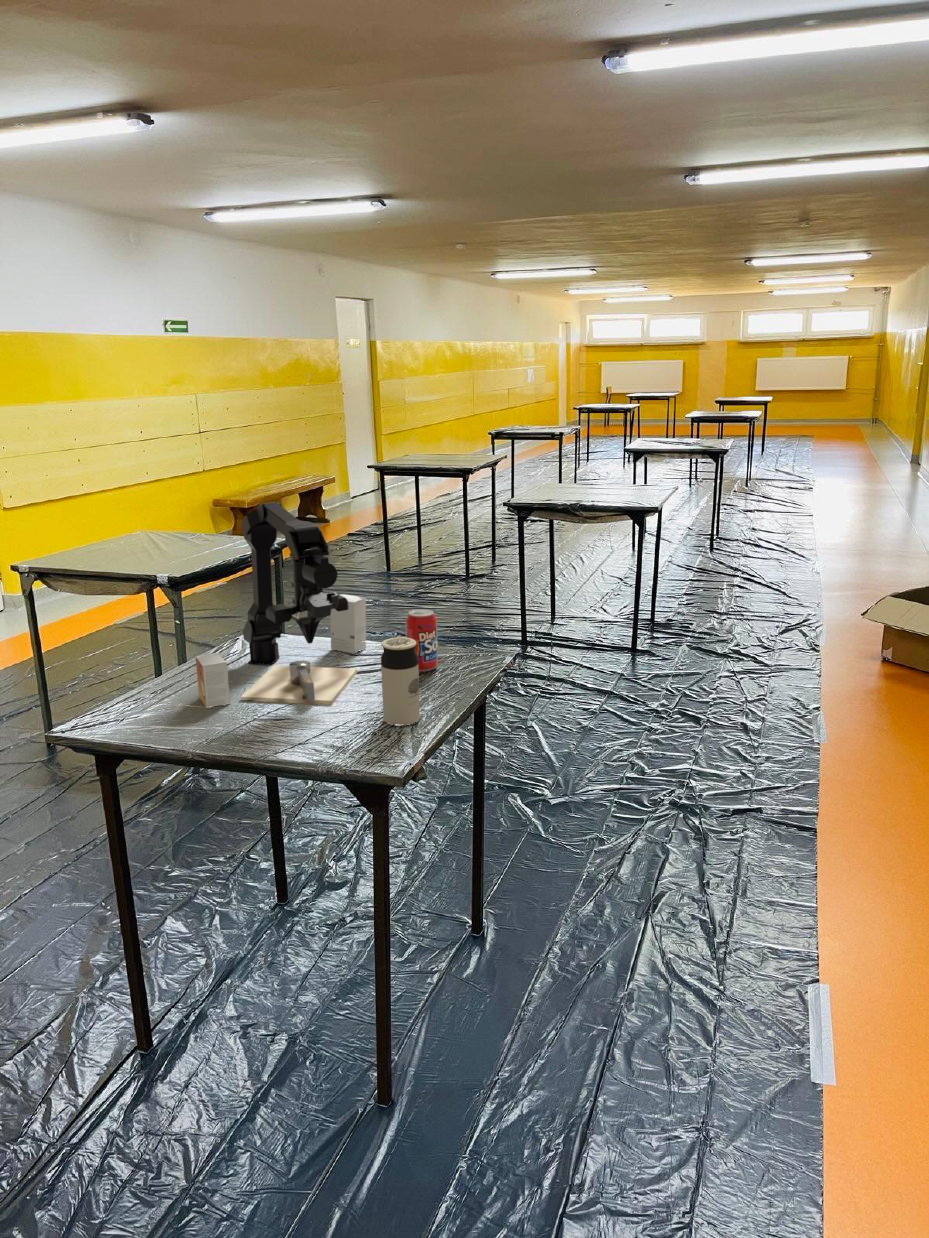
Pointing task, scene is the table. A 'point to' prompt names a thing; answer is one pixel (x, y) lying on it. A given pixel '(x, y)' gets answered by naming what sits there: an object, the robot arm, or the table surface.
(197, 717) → the table surface
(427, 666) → the soda can
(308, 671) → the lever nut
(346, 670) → the base plate
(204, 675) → the small box
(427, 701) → the table surface
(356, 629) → the skincare box
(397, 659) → the travel mug
